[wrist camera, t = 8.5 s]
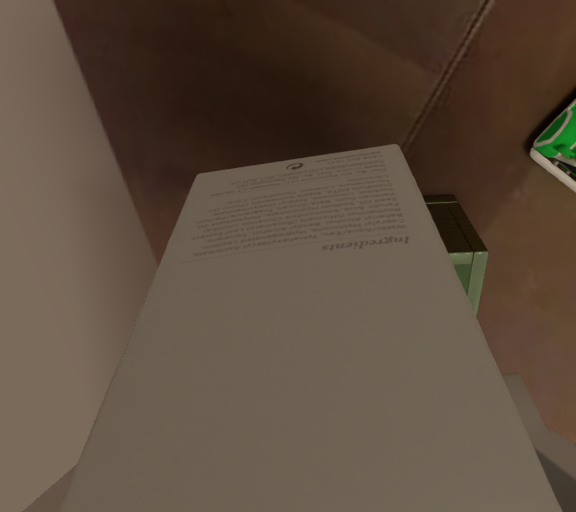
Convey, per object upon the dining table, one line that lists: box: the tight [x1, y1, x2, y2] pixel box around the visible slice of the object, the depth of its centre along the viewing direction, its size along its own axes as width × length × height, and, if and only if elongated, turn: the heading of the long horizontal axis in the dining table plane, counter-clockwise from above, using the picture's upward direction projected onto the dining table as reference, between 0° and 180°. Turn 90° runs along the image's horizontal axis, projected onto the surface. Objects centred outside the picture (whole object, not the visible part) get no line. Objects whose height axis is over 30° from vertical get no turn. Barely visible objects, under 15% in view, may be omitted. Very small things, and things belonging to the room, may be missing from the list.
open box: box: [423, 195, 489, 319], centre depth 34 cm, size 14×14×7 cm
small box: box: [57, 144, 563, 512], centre depth 11 cm, size 8×6×10 cm
